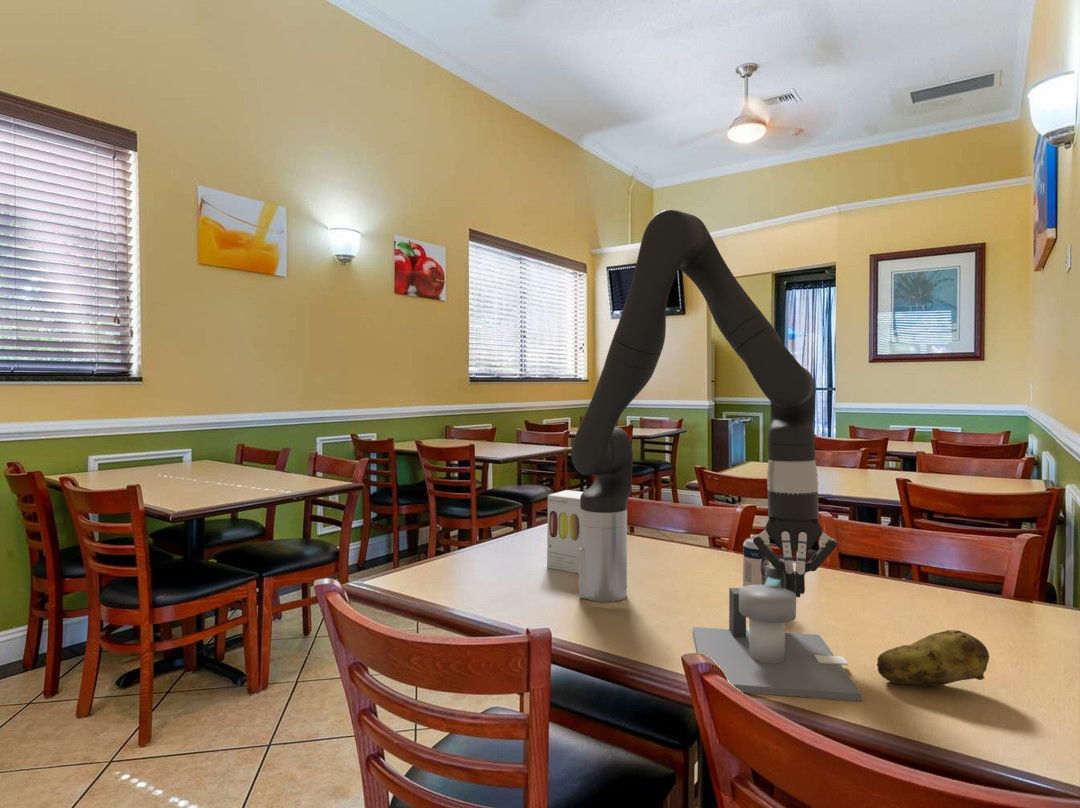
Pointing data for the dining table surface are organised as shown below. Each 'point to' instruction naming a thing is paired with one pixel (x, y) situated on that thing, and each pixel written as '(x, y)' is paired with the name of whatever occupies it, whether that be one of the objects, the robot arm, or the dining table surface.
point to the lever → (768, 599)
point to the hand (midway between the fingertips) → (795, 595)
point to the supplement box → (563, 531)
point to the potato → (935, 660)
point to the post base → (778, 674)
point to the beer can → (753, 564)
